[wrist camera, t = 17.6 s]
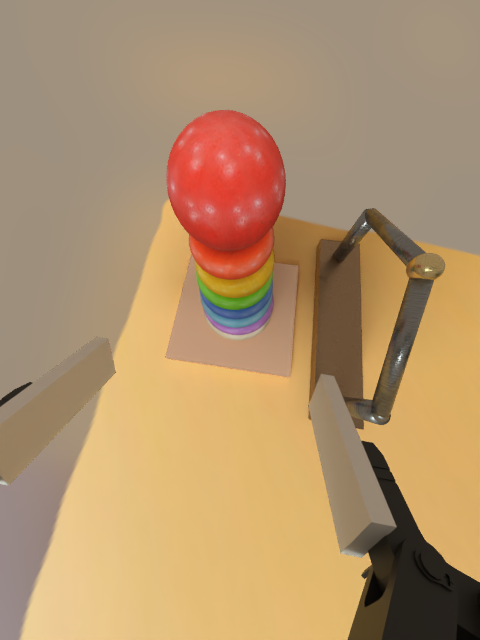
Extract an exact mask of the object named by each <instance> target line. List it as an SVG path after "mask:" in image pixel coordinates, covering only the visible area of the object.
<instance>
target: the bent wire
mask: <svg viewBox="0 0 480 640" xmlns="http://www.w3.org/2000/svg"><path fill="white" fill-rule="evenodd" d="M371 228H372V229H373V230H374V231H375V232H376V233H377V234H378V235H379V236H380V237H381V239H382V240H383V241H384V242H385V243H386V244H387V245H388V246H389V247H390V249H391V250H392V251H393V252H394V253H395V254H396V255H397V256H398V257H399V258H400V260H401V261H402V262H403V263H404V264H405V265H406V266H407V268H406V273H407V276H408V277H409V281H408V284H407V288H406V291H405V294H404V298H403V301H402V304H401V307H400V311H399V314H398V317H397V321H396V324H395V327H394V331H393V334H392V337H391V341H390V344H389V347H388V351H387V354H386V357H385V361H384V364H383V367H382V370H381V374H380V377H379V380H378V384H377V387H376V390H375V394H374V397H373V400H367V399H363V376H362V330H361V284H360V244H358V243H359V242H360V241H361V239H362V238H363V237H364V236H365V235H366V233H367V232H368V231H369V230H370V229H371ZM444 269H445V262H444V260H443V259H442V258H441V257H440V256H439V255H436V254H433V253H426V252H425V251H423V250H422V249H421V248H420V247H419V246H418V245H417V244H415V243H414V242H413V241H412V240H411V239H410V238H408V237H407V236H406V235H405V234H404V233H403V232H402V231H400V230H399V229H398V228H397V227H396V226H395V225H393V224H392V223H391V222H390V221H389V220H388V219H387V218H386V217H384V216H383V215H382V214H381V213H380V212H379V211H377V210H376V209H374V208H372V209H366V210H365V211H364V212H363V213H362V214H361V216H360V217H359V218H358V220H357V222H356V223H355V224H354V225H353V227H352V228H351V230H350V231H349V232H348V234H347V235H346V237H345V238H344V239H343V241H342V242H339V241H331V240H323V239H321V240H320V242H319V244H318V246H317V257H316V277H315V298H314V318H313V338H312V359H311V379H310V399H309V403H310V400H311V398H312V395H313V393H314V390H315V388H316V385H317V383H318V380H319V377H320V375H321V374H325V375H331V376H334V377H335V380H336V382H337V384H338V387H339V389H340V392H341V394H342V396H343V399H344V401H345V404H346V406H347V408H348V411H349V413H350V416H351V418H352V420H353V423H354V425H355V428H358V429H364V422H363V420H365V421H369V422H372V423H375V424H379V425H384V424H386V423H388V422H389V420H390V417H391V414H390V413H391V410H392V407H393V404H394V401H395V398H396V395H397V392H398V389H399V386H400V383H401V380H402V377H403V373H404V370H405V367H406V364H407V361H408V358H409V355H410V352H411V349H412V346H413V343H414V340H415V337H416V334H417V331H418V328H419V325H420V322H421V319H422V315H423V312H424V309H425V306H426V303H427V300H428V297H429V294H430V291H431V288H432V285H433V282H434V280H435V279H437V278H438V277H440V276H441V275H442V273H443V272H444ZM309 419H310V420H311V415H310V411H309Z"/></svg>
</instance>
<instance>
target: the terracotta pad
mask: <svg viewBox="0 0 480 640" xmlns="http://www.w3.org/2000/svg"><path fill="white" fill-rule="evenodd" d="M298 268H299V266H298V265H290V264H282V263H275V262H274V269H273V289H272V291H273V297H274V306H273V311H272V316H271V319H270V321H269V323H268V325H267V326H266V327H265V329H264V330H263V331H262V332H260V333H259V334H258V335H256V336H255V337H252V338H250V339H246V340H230V339H226V338H224V337H222V336H220V335H218V334H217V333H216V332H214V331H213V330H212V329H211V327H210V326H209V325H208V323H207V321H206V319H205V316H204V311H203V305H202V303H201V299H200V290H199V286H198V283H197V278H196V268H195V259H194V258H193V255H192V254H191V258H190V262H189V266H188V270H187V274H186V278H185V282H184V286H183V290H182V294H181V297H180V301H179V305H178V309H177V313H176V317H175V321H174V325H173V329H172V333H171V337H170V341H169V345H168V348H167V352H166V356H165V358H167V359H172V360H179V361H185V362H191V363H198V364H204V365H211V366H217V367H224V368H230V369H237V370H243V371H249V372H256V373H262V374H269V375H275V376H282V377H290V372H291V359H292V346H293V333H294V320H295V307H296V294H297V281H298Z"/></svg>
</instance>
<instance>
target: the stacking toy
mask: <svg viewBox="0 0 480 640" xmlns="http://www.w3.org/2000/svg"><path fill="white" fill-rule="evenodd" d="M285 181H286V179H285V170H284V165H283V160H282V157H281V154H280V151H279V149H278V147H277V145H276V143H275V141H274V140H273V138H272V136H271V135H270V134H269V133H268V132H267V130H266V129H265V128H264V127H263V126H262V125H261V124H260V123H258V122H257V121H255V120H254V119H252V118H251V117H249V116H247V115H245V114H243V113H239V112H236V111H232V110H219V111H213V112H208V113H206V114H203V115H201V116H200V117H198V118H196V119H195V120H193V121H192V122H191V123H189V124H188V125H187V126H186V128H185V129H184V130H183V131H182V132H181V134H180V135H179V136H178V138H177V139H176V141H175V143H174V145H173V147H172V150H171V152H170V156H169V160H168V166H167V189H168V195H169V199H170V202H171V206H172V208H173V210H174V213H175V214H176V216H177V218H178V220H179V222H180V224H181V225H182V226H183V227H184V229H185V230H186V231H187V232H188V233H189V246H190V250H191V253H192V255H193V258H194V259H195V268H196V278H197V283H198V286H199V290H200V299H201V303H202V305H203V311H204V316H205V319H206V321H207V323H208V325H209V326H210V327H211V329H212V330H213V331H214V332H216V333H217V334H218V335H220V336H222V337H224V338H226V339H230V340H246V339H250V338H252V337H255V336H256V335H258V334H259V333H260V332H262V331H263V330H264V329H265V327H266V326H267V325H268V323H269V321H270V319H271V316H272V311H273V306H274V297H273V291H272V289H273V269H274V251H273V245H274V233H273V228H272V227H273V225H274V224H275V222H276V220H277V218H278V216H279V213H280V211H281V209H282V205H283V201H284V196H285V186H286V183H285Z"/></svg>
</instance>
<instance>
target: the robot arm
mask: <svg viewBox="0 0 480 640" xmlns="http://www.w3.org/2000/svg"><path fill="white" fill-rule="evenodd" d="M115 373H116V371H115V367H114V362H113V357H112V353H111V349H110V344H109V339H107V338H100V337H96V338H94V339H93V340H92V341H90V342H89V343H87V344H86V345H85V346H83V347H82V348H81V349H79V350H78V351H76V352H75V353H74V354H72V355H71V356H70V357H68V358H67V359H66V360H64V361H63V362H61V363H60V364H59V365H57V366H56V367H54V368H53V369H52V370H50V371H49V372H48V373H46V374H45V375H43V376H42V377H41V378H39V379H38V380H37V381H35V382H34V383H31V382H29V383H27V384H26V385H23V386H21V387H19V388H17V389H15V390H13V391H12V392H10V393H9V394H7V395H6V396H5V397H3V398H2V400H0V484H4V485H10V484H11V482H12V481H13V480H14V479H15V478H16V477H17V476H18V475H19V474H20V473H21V472H22V471H23V470H24V469H25V468H26V467H27V465H29V463H31V461H32V460H33V459H34V458H35V457H36V456H37V455H38V454H39V453H40V452H41V451H42V450H43V449H44V448H45V447H46V446H47V445H48V444H49V442H50V441H51V440H52V439H53V438H54V437H55V436H56V435H57V434H58V433H59V432H60V431H61V430H62V429H63V428H64V426H65V425H66V424H67V423H68V422H69V421H70V420H71V419H72V418H73V417H74V416H75V415H76V414H77V413H78V412H79V411H80V410H81V409H82V408H83V407H84V405H85V404H86V403H87V402H88V401H89V400H90V399H91V398H92V397H93V396H94V395H95V394H96V393H97V392H98V391H99V390H100V389H101V388H102V386H103V385H104V384H105V383H106V382H107V381H108V380H109V379H110V378H111V377H112V376H113V375H114V374H115ZM308 406H309V411H310V415H311V420H312V425H313V429H314V434H315V438H316V443H317V447H318V452H319V457H320V461H321V466H322V470H323V475H324V479H325V484H326V489H327V493H328V498H329V502H330V507H331V512H332V516H333V521H334V525H335V530H336V534H337V539H338V544H339V548H340V553H341V554H346V555H351V556H356V557H361V558H362V557H363V556H364V555H365V554H366V553H369V556H370V559H371V563H372V565H371V566H370V567H368V568H367V569H366V570H365V571H364V572H363V574H362V575H361V576H362V577H363V578H364V579H365V578H367V579H366V582H365V586H364V589H363V592H362V595H361V599H360V602H359V605H358V608H357V611H356V615H355V618H354V621H353V624H352V627H351V631H350V634H349V637H348V640H480V582H478V581H476V580H474V579H473V578H471V577H469V576H467V575H466V574H464V573H462V572H460V571H459V570H457V569H455V568H454V567H452V566H451V565H449V564H448V563H446V561H445V560H444V558H443V557H442V556H441V555H440V554H439V552H438V551H437V550H436V549H435V548H434V547H433V546H432V545H430V544H429V543H427V542H426V540H425V539H424V538H423V536H422V534H421V532H420V530H419V529H418V526H417V524H416V522H415V520H414V518H413V516H412V514H411V512H410V510H409V508H408V506H407V504H406V502H405V500H404V497H403V495H402V493H401V491H400V489H399V487H398V485H397V484H396V483H395V479H394V477H393V475H392V473H391V472H390V468H389V466H388V464H387V462H386V460H385V458H384V456H383V455H382V453H381V452H380V451H379V450H378V448H377V447H376V446H375V445H374V444H373V443H371V442H365V441H361V440H360V437H359V435H358V433H357V430H356V428H355V425H354V423H353V420H352V418H351V416H350V413H349V411H348V408H347V406H346V404H345V401H344V399H343V396H342V394H341V392H340V389H339V387H338V384H337V382H336V380H335V377H334V376H331V375H325V374H321V375H320V377H319V380H318V383H317V385H316V388H315V390H314V393H313V395H312V398H311V400H310V403H309V405H308Z"/></svg>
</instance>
